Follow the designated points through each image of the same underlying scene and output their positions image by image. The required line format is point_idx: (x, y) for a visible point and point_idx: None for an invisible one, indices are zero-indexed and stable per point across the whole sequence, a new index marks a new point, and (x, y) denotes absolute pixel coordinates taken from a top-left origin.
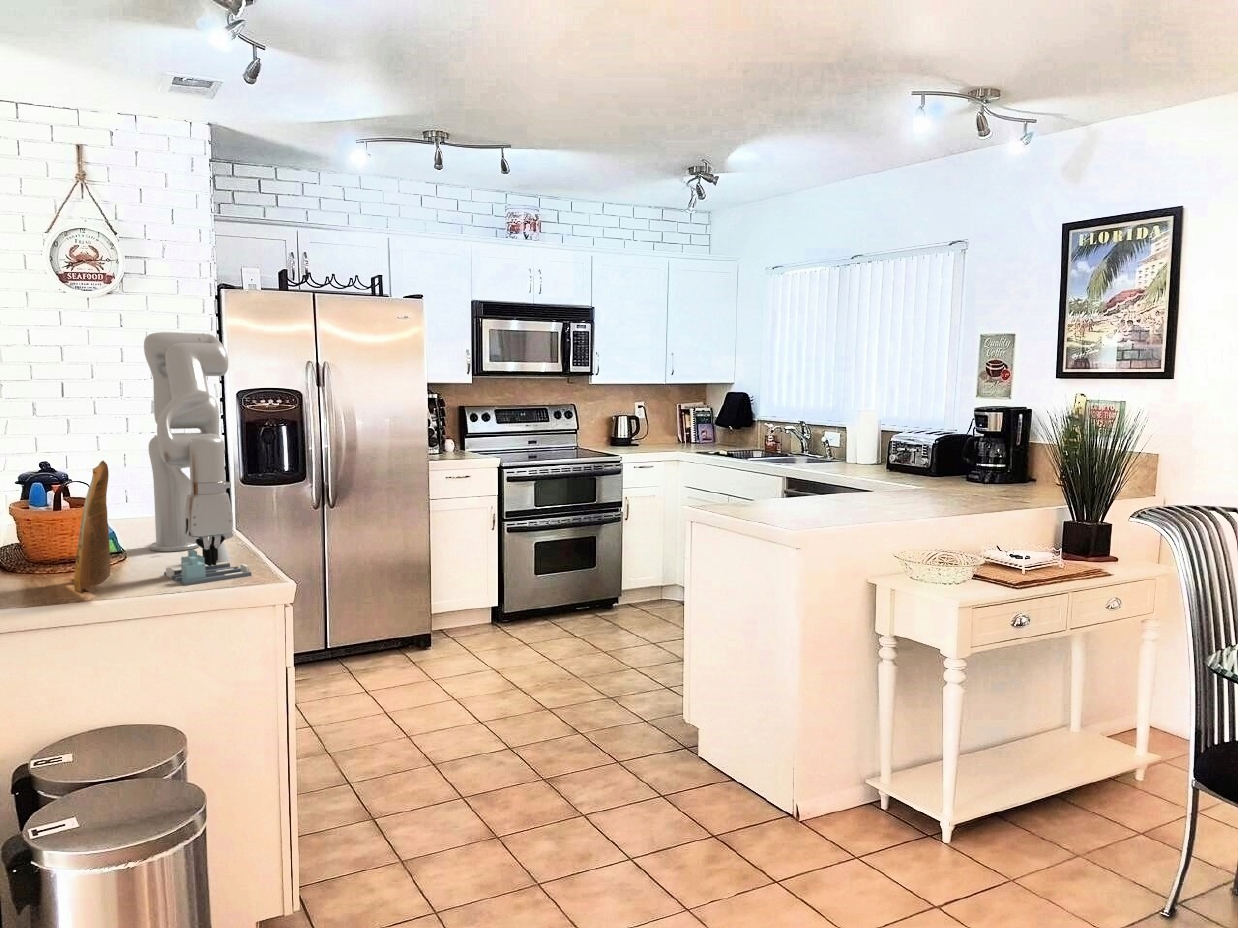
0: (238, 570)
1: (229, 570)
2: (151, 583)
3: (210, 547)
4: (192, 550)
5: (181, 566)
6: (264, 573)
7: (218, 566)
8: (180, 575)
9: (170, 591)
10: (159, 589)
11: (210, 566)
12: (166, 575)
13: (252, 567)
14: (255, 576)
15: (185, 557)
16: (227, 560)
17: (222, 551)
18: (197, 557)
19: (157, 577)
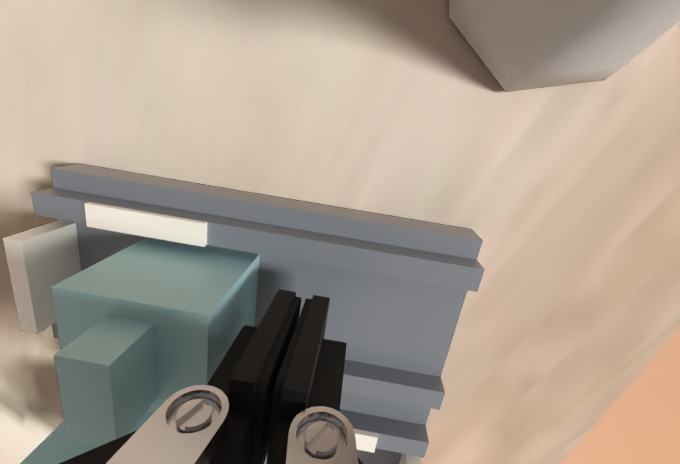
0: (398, 444)
1: None
2: (10, 197)
3: (276, 435)
4: (93, 382)
5: (23, 461)
6: (534, 435)
7: (391, 271)
8: None
9: (57, 401)
10: (24, 340)
11: (334, 266)
12: (56, 224)
13: (626, 270)
14: (459, 449)
15: (80, 321)
16: (621, 64)
17: (670, 5)
18: (160, 391)
19: (65, 63)
